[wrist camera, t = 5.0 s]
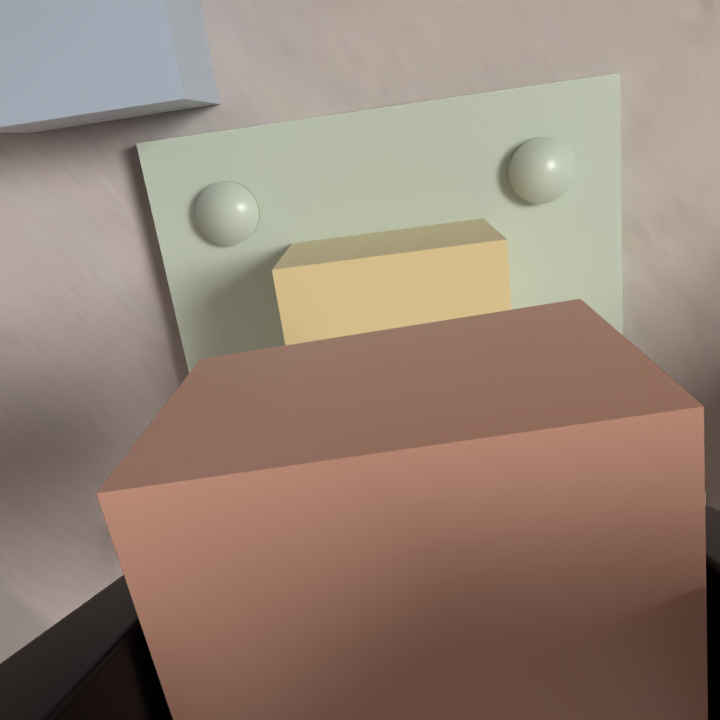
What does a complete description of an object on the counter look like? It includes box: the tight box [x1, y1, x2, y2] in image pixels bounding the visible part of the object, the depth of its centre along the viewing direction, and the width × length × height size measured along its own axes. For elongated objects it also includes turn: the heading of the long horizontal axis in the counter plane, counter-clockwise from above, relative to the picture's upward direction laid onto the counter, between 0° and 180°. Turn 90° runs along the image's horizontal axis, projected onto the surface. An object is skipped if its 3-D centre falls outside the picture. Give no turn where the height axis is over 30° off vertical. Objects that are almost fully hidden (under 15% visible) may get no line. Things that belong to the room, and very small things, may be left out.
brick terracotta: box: [96, 299, 708, 720], centre depth 8 cm, size 5×5×4 cm
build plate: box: [136, 73, 623, 373], centre depth 17 cm, size 12×11×4 cm
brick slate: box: [0, 0, 220, 133], centre depth 15 cm, size 5×5×4 cm
